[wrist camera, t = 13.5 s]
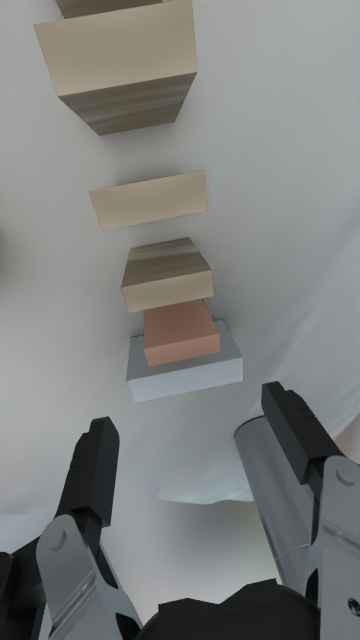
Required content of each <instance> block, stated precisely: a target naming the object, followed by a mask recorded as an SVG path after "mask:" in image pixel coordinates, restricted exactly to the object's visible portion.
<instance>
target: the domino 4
mask: <svg viewBox="0 0 360 640" xmlns="http://www.w3.org/2000/svg"><path fill="white" fill-rule="evenodd" d="M143 350H144V353H145V356H146V359H147V362H148V365H149V367H150V366H155V365H160V364H165V363H170V362H174V361H179V360H184V359H189V358H194V357H199V356H203V355H208V354H213V353H218V352H220V343H219V333H218V331H217V329H216V327H215V325H214V322H213V320H212V318H211V316H210V314H209V312H208V310H207V307H206V305H205V303H204V301H203V299H202V298H201V299H196V300H191V301H186V302H181V303H176V304H171V305H166V306H161V307H156V308H151V309H146V310H144V346H143Z"/></svg>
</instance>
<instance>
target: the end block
mask: <svg viewBox="0 0 360 640" xmlns="http://www.w3.org/2000/svg"><path fill="white" fill-rule="evenodd" d="M213 322H214V325H215V327H216V329H217V331H218V333H219V343H220V352H218V353H213V354H208V355H203V356H199V357H194V358H189V359H184V360H179V361H174V362H170V363H165V364H160V365H155V366H150V367H149V365H148V362H147V359H146V356H145V353H144V350H143V346H144V335H142V336H137V337H132V338H131V341H130V350H129V360H128V369H127V378H126V382H127V384H128V386H129V389H130V391H131V393H132V396H133V398H134V400H135V403H138V402H143V401H148V400H153V399H158V398H163V397H168V396H172V395H177V394H182V393H187V392H192V391H197V390H202V389H206V388H211V387H216V386H221V385H226V384H231V383H236V382H240V381H243V357H242V355H241V353H240V351H239V349H238V347H237V345H236V343H235V342H234V340H233V338H232V336H231V334H230V332H229V330H228V329H227V327H226V325H225V323H224V321H223V319H222V320H217V321H213Z"/></svg>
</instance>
